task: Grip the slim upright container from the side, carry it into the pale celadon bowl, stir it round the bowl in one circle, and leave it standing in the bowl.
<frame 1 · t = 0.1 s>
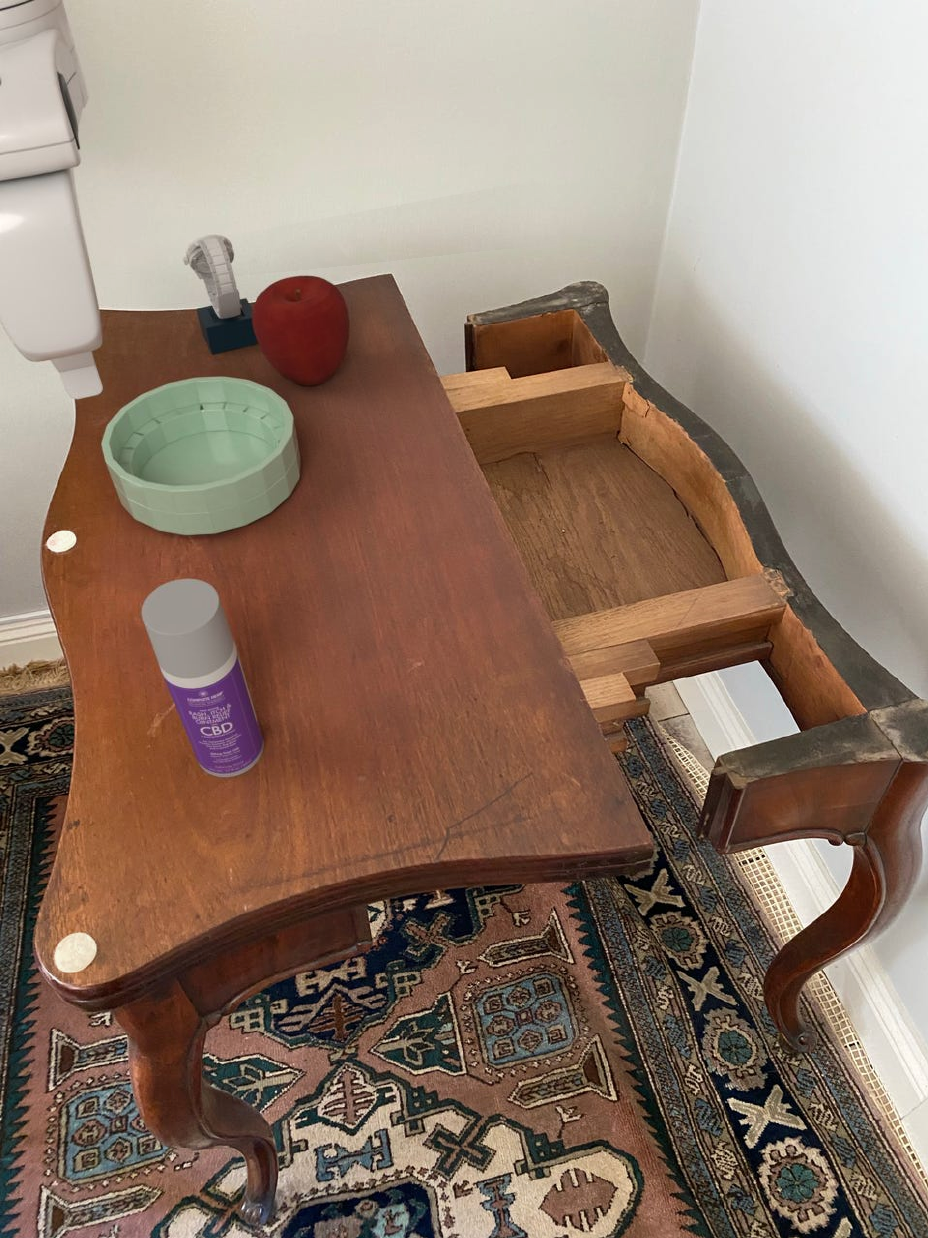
hand: (75, 344, 50), 26 cm above the table, tool pointing down, fingers open, 8 cm apart
apple: (309, 375, 95), on the table
bowl: (211, 478, 83), on the table
container: (231, 750, 64), on the table
watch: (231, 339, 99), on the table
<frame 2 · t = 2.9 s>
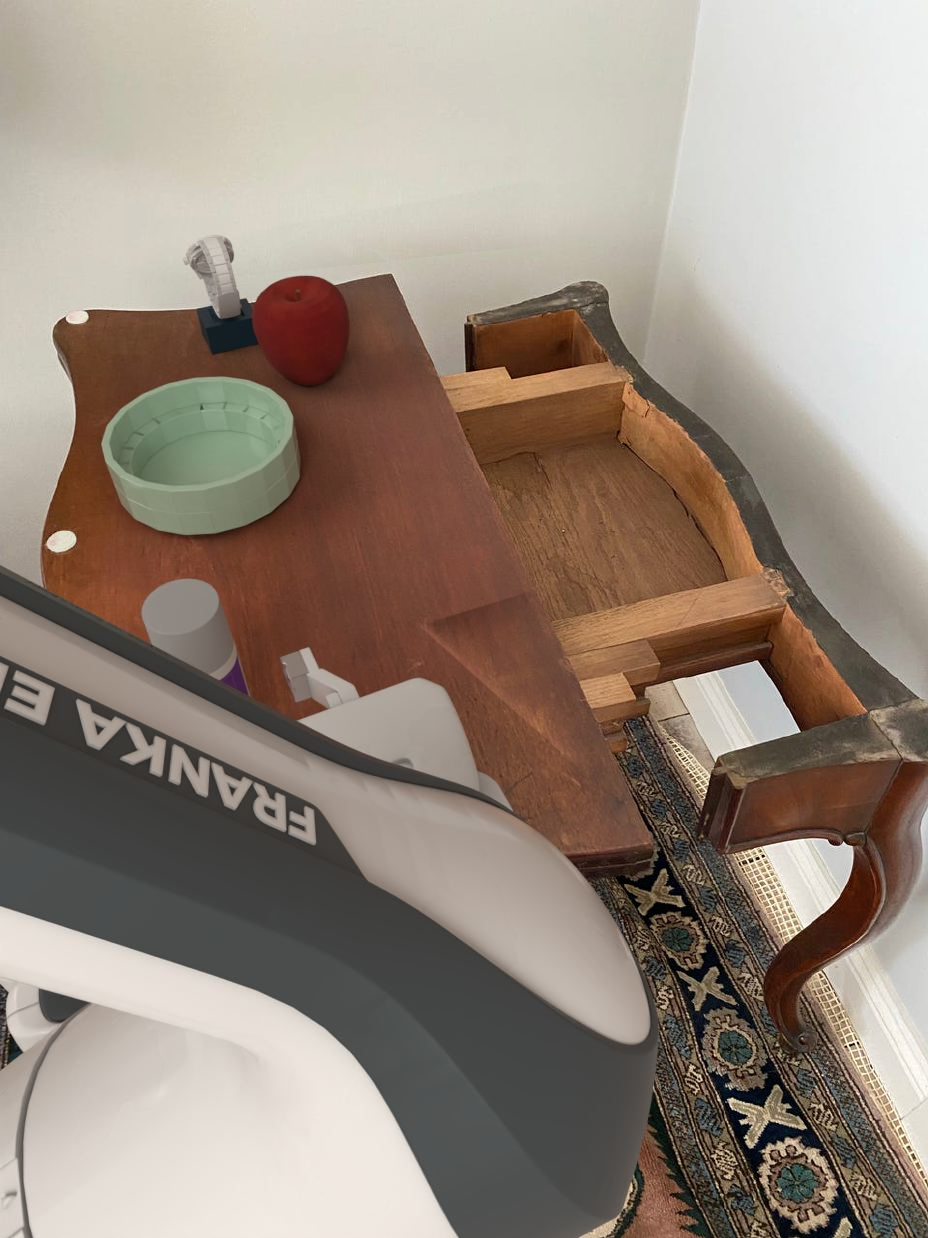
hand: (198, 693, 42), 20 cm above the table, tool horizontal, fingers open, 8 cm apart
nothing on the table moved.
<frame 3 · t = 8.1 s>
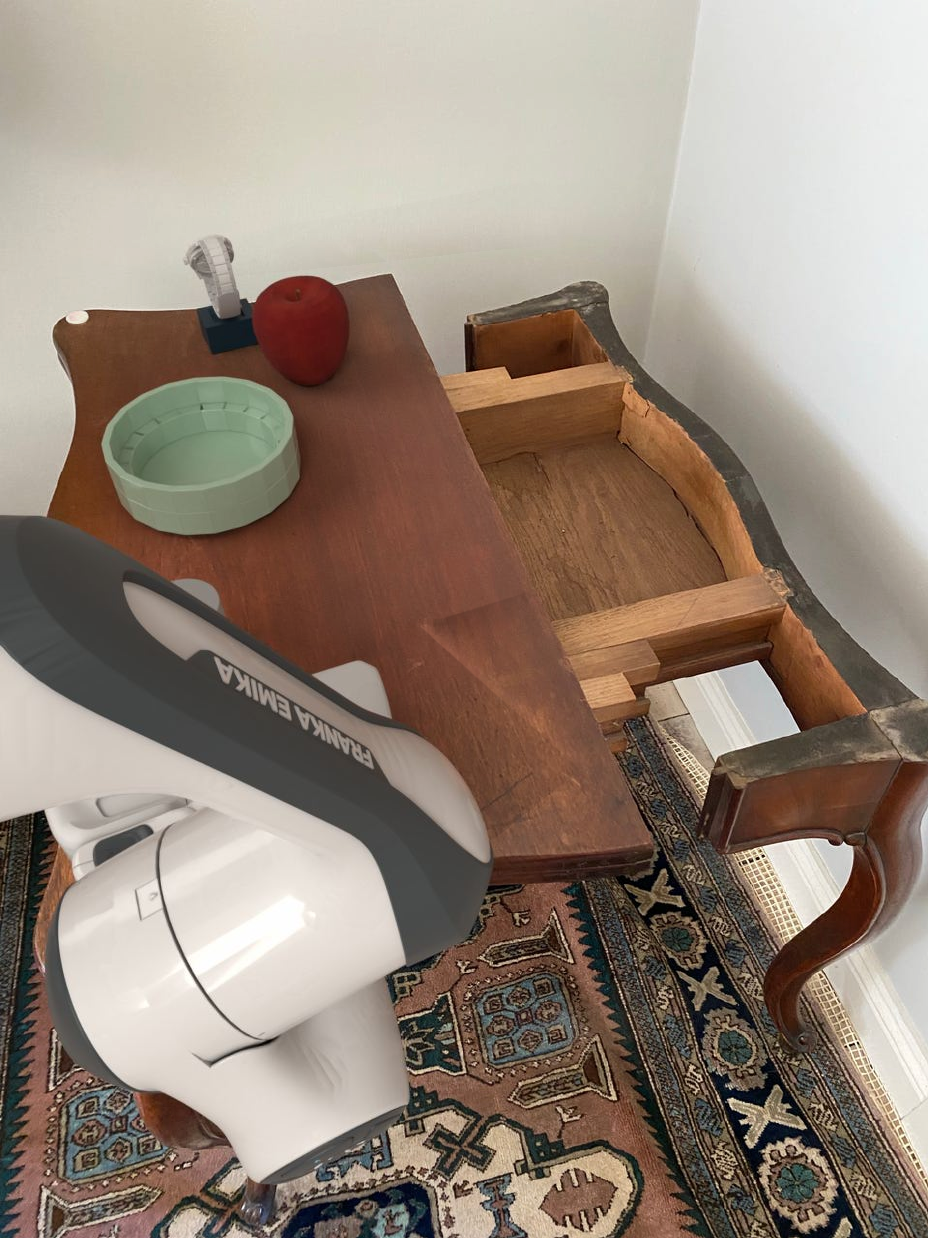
hand: (201, 664, 58), 9 cm above the table, tool horizontal, fingers closed on container, 4 cm apart
container: (231, 750, 64), on the table, touching gripper
everything else where it was.
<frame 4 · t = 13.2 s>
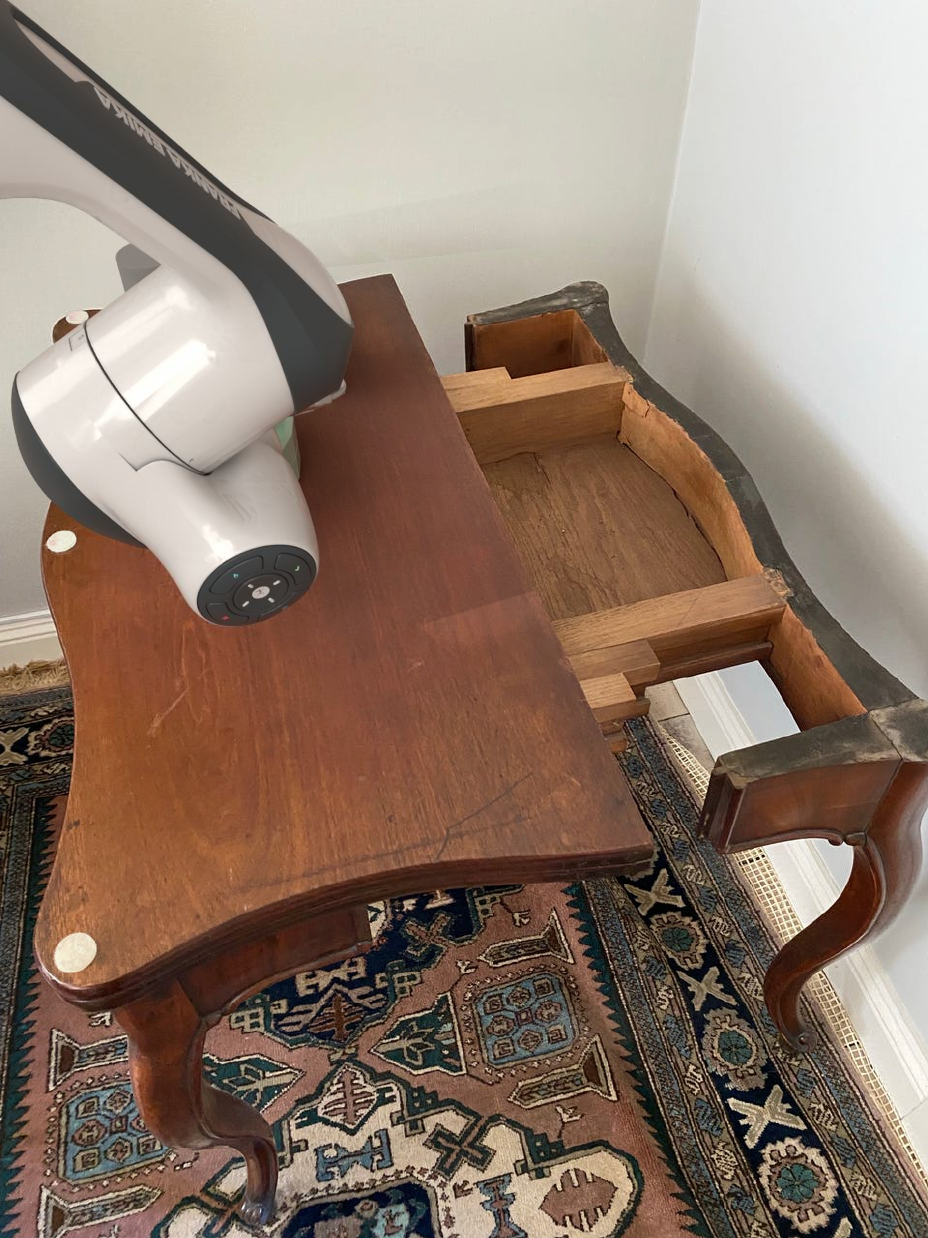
hand: (168, 330, 68), 17 cm above the table, tool horizontal, fingers closed on container, 4 cm apart
container: (196, 431, 74), point 8 cm above the table, touching gripper
everything else where it was.
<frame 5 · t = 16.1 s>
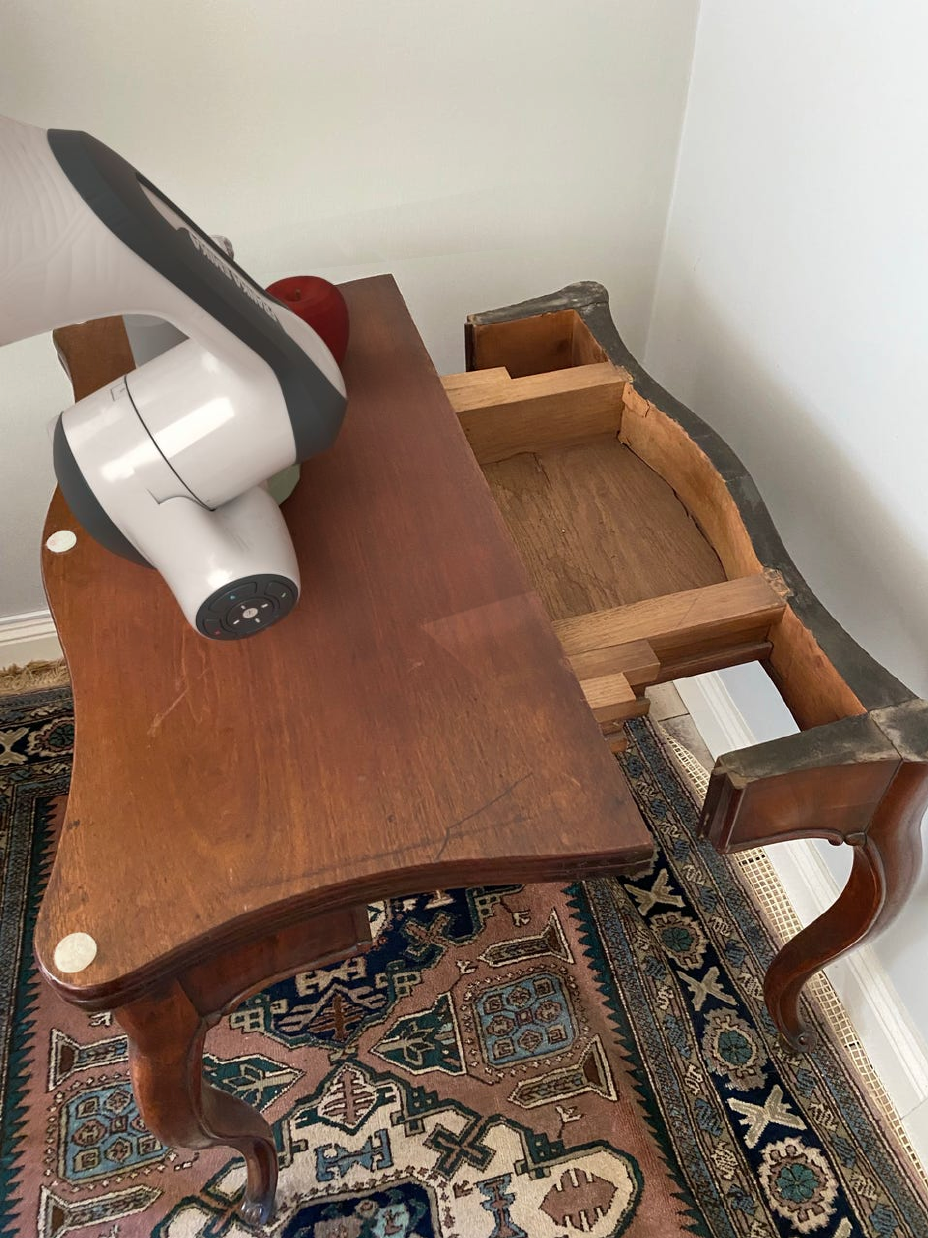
hand: (167, 376, 77), 10 cm above the table, tool horizontal, fingers closed on container, 4 cm apart
container: (192, 463, 83), point 1 cm above the table, touching gripper
everything else where it was.
when the fingers open (9 cm above the table, at t = 18.5 s): container stays where it is, resting on bowl.
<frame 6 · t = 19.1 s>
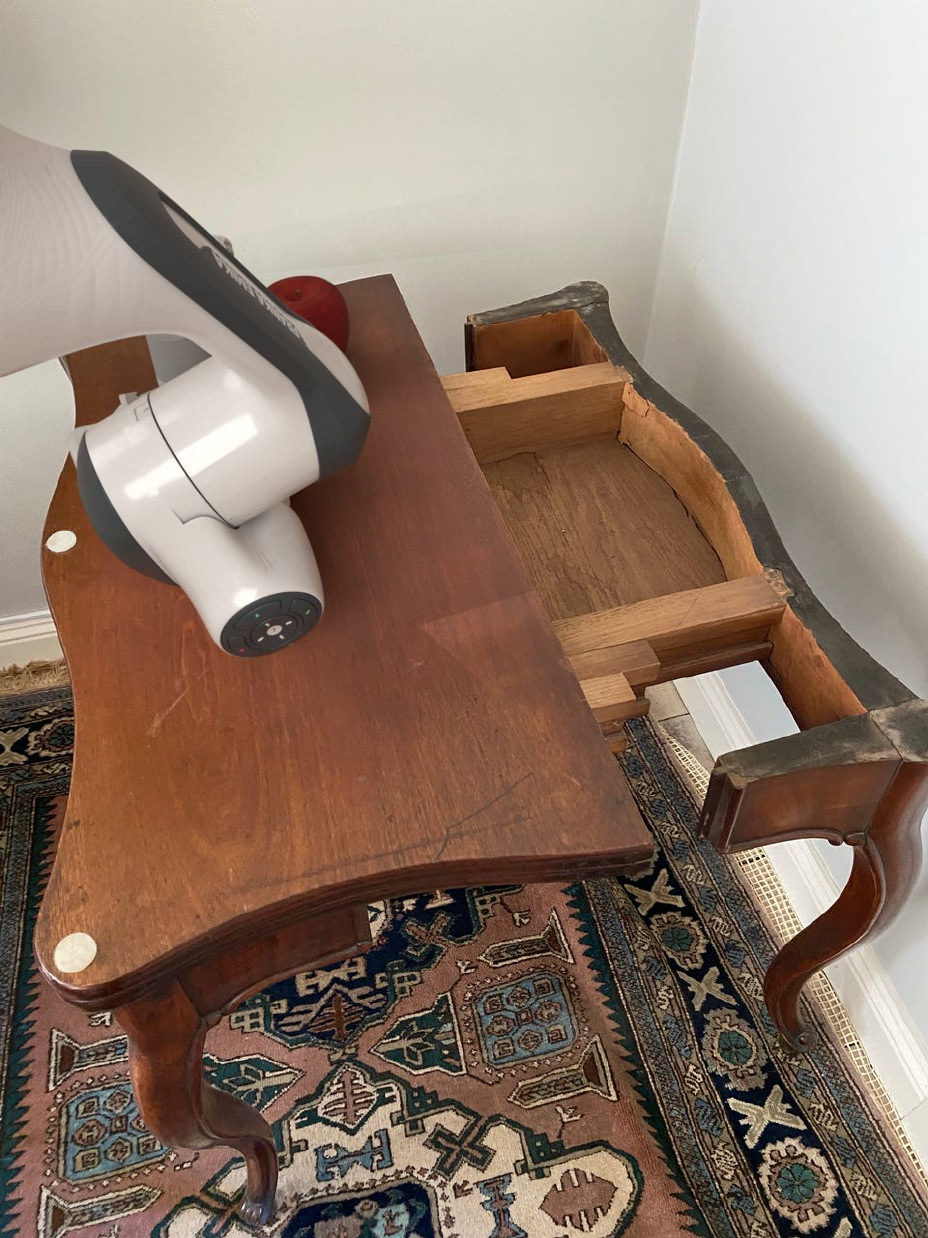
hand: (186, 387, 77), 9 cm above the table, tool horizontal, fingers open, 8 cm apart
container: (212, 475, 83), resting on bowl
everything else where it was.
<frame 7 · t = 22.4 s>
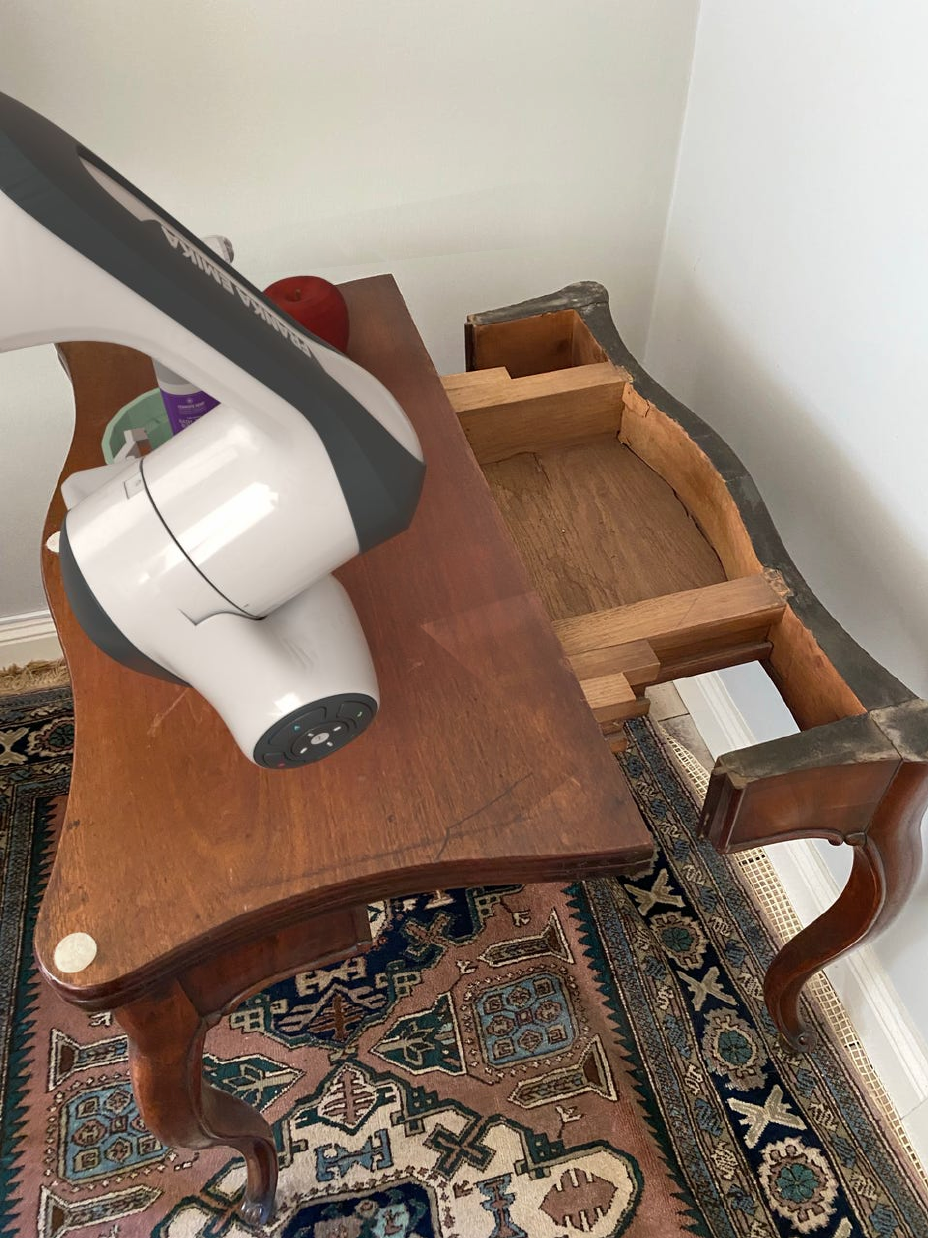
hand: (203, 421, 65), 14 cm above the table, tool horizontal, fingers open, 8 cm apart
nothing on the table moved.
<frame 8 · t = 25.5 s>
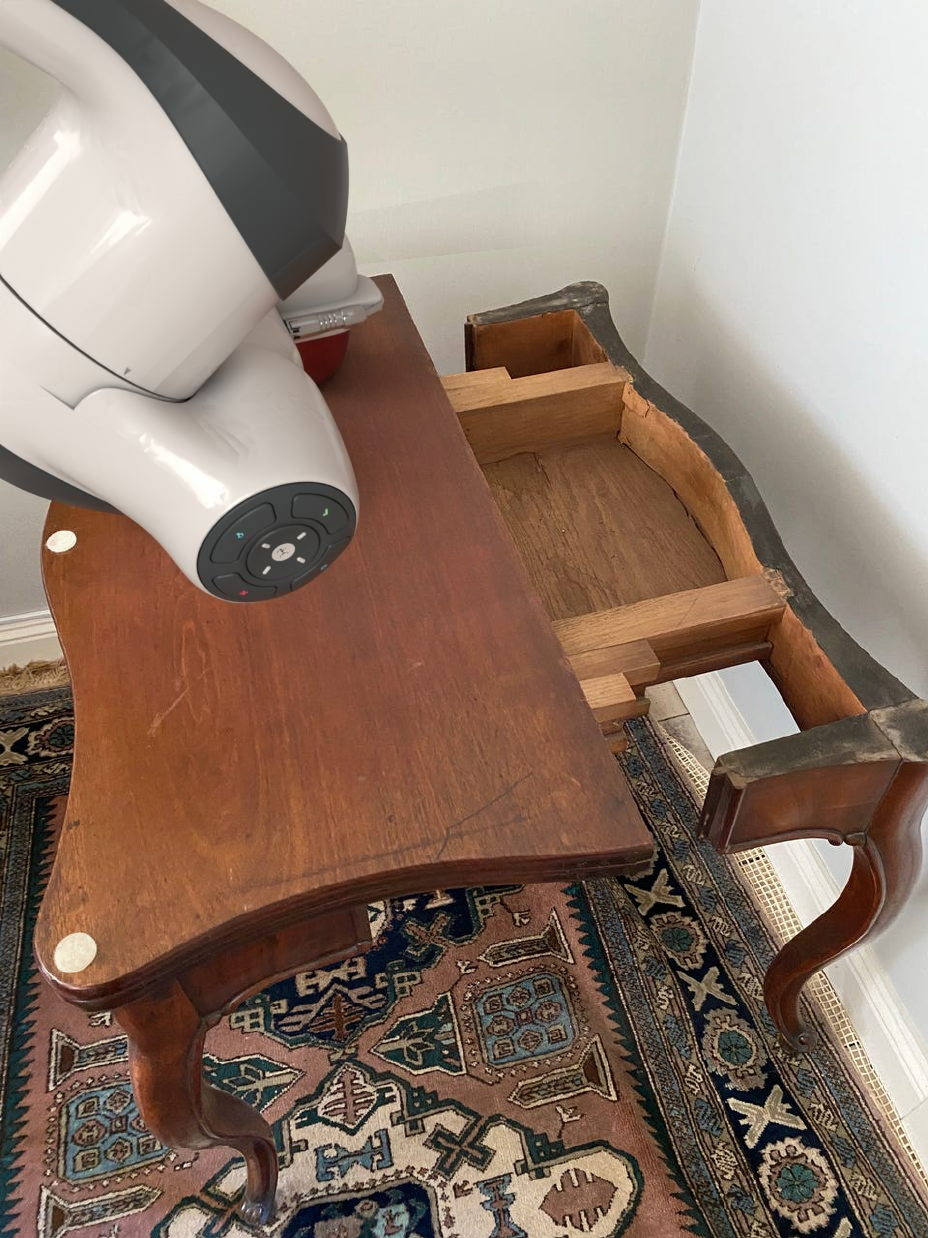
hand: (157, 238, 55), 28 cm above the table, tool horizontal, fingers open, 8 cm apart
nothing on the table moved.
at the end: container inside the target area in the bowl (0.1 cm from its centre), point 0.4 cm above the bowl's base; container tilted 0°; container moved 30.3 cm from its start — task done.
